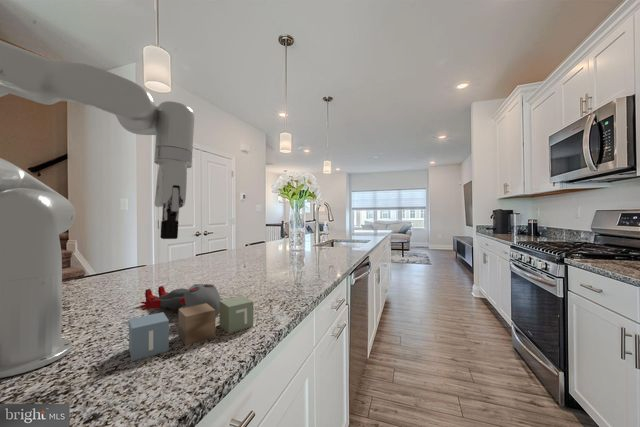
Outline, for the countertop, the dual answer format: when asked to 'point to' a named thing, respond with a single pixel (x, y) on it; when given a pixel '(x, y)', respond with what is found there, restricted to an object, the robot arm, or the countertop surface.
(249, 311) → the olive block
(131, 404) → the countertop surface
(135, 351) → the slate block
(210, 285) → the toy
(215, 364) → the countertop surface
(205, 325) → the walnut block
